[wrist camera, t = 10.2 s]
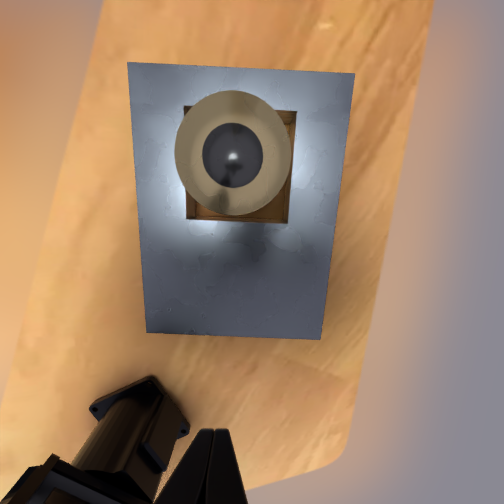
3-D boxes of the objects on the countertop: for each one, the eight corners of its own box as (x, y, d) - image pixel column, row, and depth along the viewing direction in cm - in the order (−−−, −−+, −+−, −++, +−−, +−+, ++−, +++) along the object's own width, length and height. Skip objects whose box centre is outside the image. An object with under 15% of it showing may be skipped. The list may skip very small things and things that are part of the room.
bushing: (228, 217, 17) (211, 234, 10) (194, 156, 16) (151, 129, 9) (286, 186, 16) (310, 182, 9) (255, 121, 15) (257, 64, 9)
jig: (311, 320, 19) (320, 339, 16) (160, 314, 19) (146, 332, 16) (338, 92, 15) (355, 73, 12) (147, 83, 15) (127, 61, 12)
